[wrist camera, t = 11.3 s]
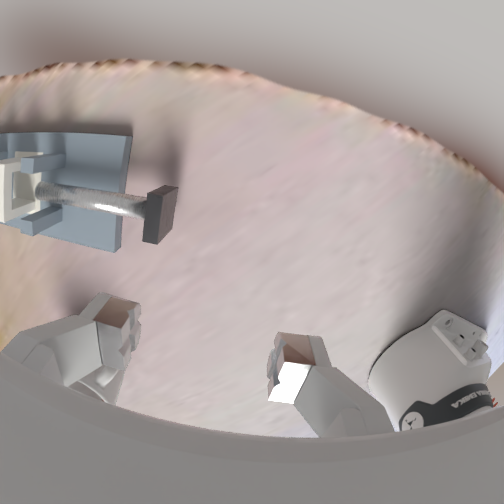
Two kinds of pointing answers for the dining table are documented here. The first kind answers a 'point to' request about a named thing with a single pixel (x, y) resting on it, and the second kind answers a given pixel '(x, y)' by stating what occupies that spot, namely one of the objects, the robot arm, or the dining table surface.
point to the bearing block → (68, 182)
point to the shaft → (118, 205)
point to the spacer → (3, 205)
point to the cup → (101, 384)
